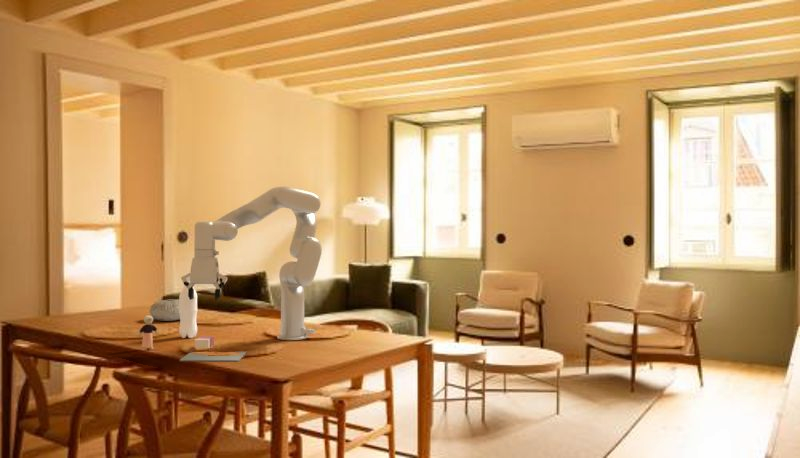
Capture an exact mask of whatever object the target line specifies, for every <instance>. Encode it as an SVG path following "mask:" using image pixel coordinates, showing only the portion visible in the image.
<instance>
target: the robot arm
mask: <svg viewBox="0 0 800 458" xmlns="http://www.w3.org/2000/svg"><path fill="white" fill-rule="evenodd" d="M321 204H322V203H321V200H320V197H319V196H318V195H317V194H315V193H313V192H309V191H306V190H301V189H297V188H294V187H290V186H276V187H273V188H270V189H269V190H267V191H266V192H263V193H262V194H260V195H259V196H257V197H256V198H255V199H252V200H251V201H249V202H247V203H246V204H243V205H241V206H240V207H238V208H236V209H234V210H232V211H230V212H228V213H226V214H225V215H222V216H221V217H219V218H218V219H217V220H214V221H213V222H212V221H197V222H195V224H194V241H193V242H194V244H193V245H194V246H193V247H194V249H193V251H194V252H193V253H194V254H193V256H194V257H192V259H191V265H190V270H189V271H190V272H189V273H187V274H185V275H183V276H181V282H183V286H184V285H185V286H186V287H187V289H188V297H189V299H190V300H191V299H193V298H194V289H195V288H194V289H193V287H194V286H195V285H213V287H215V290H214V300H215V301H218V300H220V298H221V288H223V287H224V286H225V285H226V282H228V277H227V276H225V275H223V274H222V273H220V268H219V266H220V265H219V260H218V257H216V256H218V255H220V252H219V250H218V251H217V250H216V241H222V242H230V241H232V240H234V239H236V237H237V236H238V230H239V229H241V228H243V227H245V226H249V225H253V224H257V223H259V222H261V221H263V220H264V219H265V218H267V217H268V216H270V215H272V214H273V213H275V212H277V211H278V210H279V209H282V208H286V209H290V210H291V211H292V212H293V214H294V216H295V219H296V220H295V221H296V225H295V228H294V232H293V236H292V238H291V239H292V240H291V243H290V246H289V254H290V256H291V257H292V258H295V259H297V260H296V261H288V262H285V263H284V264H283V265H282V266H281V267H280V269H279V276H278V277H279V283H280V293H281V295H280V296H281V297H280V333H279V334H277V335H276V338H277V339H278V340H283V341H299V340H307V338H309V336H308V335H309V334H311V335H315V333H316V330H315V328H306V327H307V326H306V325H305V289H304V288H305V287H306V286H309V285H310V284H312V283H313V281H314V280H315V277H316V273H317V270H318V268H319V263H320V260H321V257H322V245H321V243H320V241H319V239H317V238H315V235H316V232H317V225H318V224H317V223H318V221H317V217H316V215H315V214H316V213H318V211H319V210H320V208H321ZM188 277H190V282H191V283H190V284H189V283H188V282H187V280H186V279H187V278H188ZM220 279H221V280H222V281H221V282H220ZM219 282H220V283H219Z"/></svg>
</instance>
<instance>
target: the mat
mask: <svg viewBox="0 0 800 458" xmlns="http://www.w3.org/2000/svg"><path fill="white" fill-rule="evenodd" d="M236 352H237V353H239V354H240V353H241V354H240V355H229V356H208V355H202V354H195V353H190V352H189V353H187V354H186V355H185V356H183V357H181V358H180V359H179V362H230V363H231V362H234V363H235V362H240V361H241V359H242V358H244V356H245V355H244V354H245V353H246V352H247V351H236ZM243 355H244V356H243Z"/></svg>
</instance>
